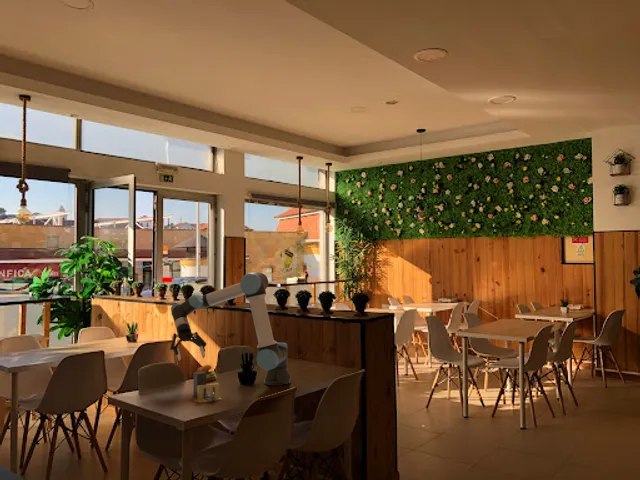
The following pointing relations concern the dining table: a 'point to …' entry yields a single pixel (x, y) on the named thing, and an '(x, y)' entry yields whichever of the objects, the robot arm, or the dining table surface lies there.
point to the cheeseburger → (207, 372)
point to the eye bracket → (201, 392)
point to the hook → (201, 380)
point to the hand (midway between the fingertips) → (192, 358)
